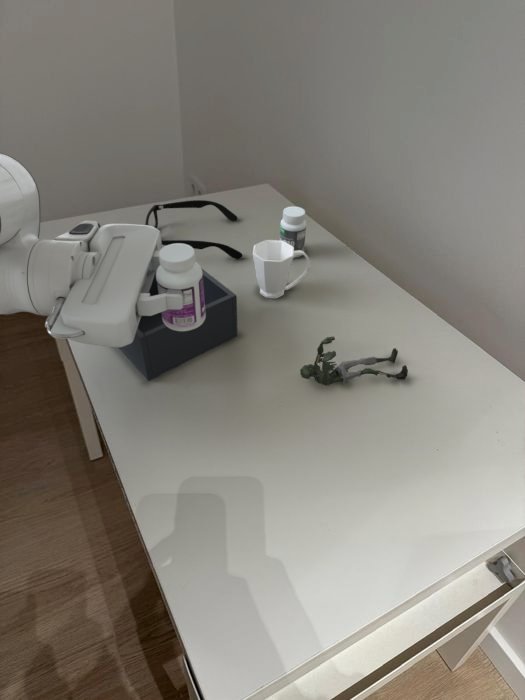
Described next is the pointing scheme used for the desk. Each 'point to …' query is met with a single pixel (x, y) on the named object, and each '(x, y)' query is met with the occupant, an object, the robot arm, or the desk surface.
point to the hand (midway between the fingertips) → (187, 282)
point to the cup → (275, 267)
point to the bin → (183, 332)
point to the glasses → (193, 244)
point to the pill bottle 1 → (181, 286)
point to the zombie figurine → (345, 367)
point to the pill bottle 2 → (293, 228)
